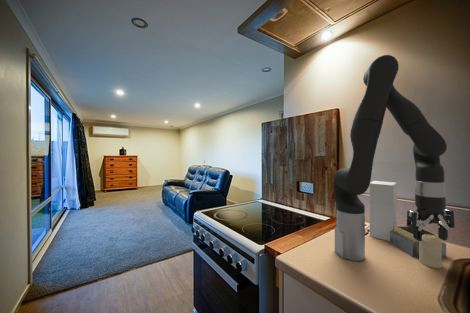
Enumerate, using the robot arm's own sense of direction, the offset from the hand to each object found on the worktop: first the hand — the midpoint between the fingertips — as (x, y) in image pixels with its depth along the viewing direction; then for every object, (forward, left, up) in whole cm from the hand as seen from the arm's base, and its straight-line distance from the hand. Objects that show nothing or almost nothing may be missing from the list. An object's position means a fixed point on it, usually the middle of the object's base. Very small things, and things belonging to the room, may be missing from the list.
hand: (430, 239), depth 67 cm
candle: (-1, -1, -9) cm, 9 cm away
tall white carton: (-1, +21, -9) cm, 23 cm away
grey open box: (+3, +9, -8) cm, 13 cm away
